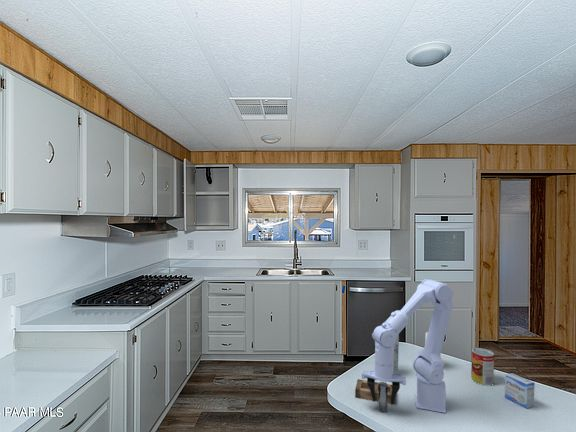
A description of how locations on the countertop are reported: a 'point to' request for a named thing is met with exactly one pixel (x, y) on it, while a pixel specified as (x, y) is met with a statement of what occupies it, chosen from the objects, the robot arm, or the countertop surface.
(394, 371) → the spray can
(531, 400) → the medicine box
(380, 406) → the peg
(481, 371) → the canned food
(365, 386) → the hole block
